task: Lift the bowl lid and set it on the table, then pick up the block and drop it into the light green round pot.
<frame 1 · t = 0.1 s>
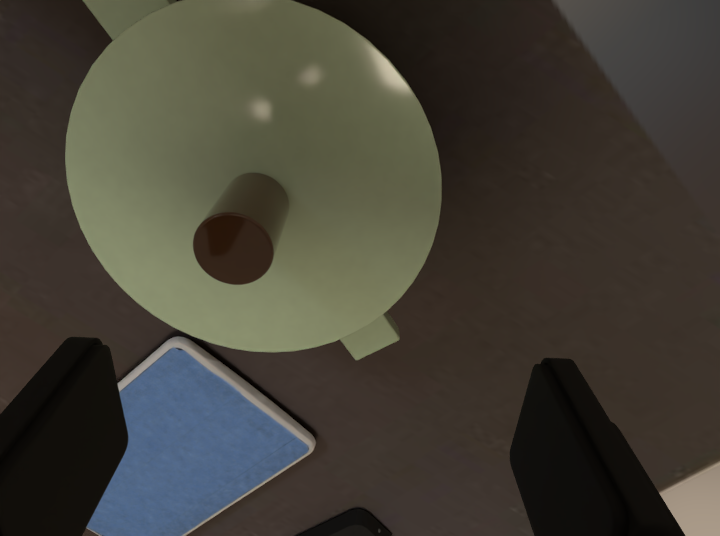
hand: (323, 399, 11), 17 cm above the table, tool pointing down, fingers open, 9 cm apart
light green round pot: (285, 148, 25), on the table
tablet: (164, 451, 36), on the table
bowl lid: (259, 198, 19), point 7 cm above the table, touching light green round pot
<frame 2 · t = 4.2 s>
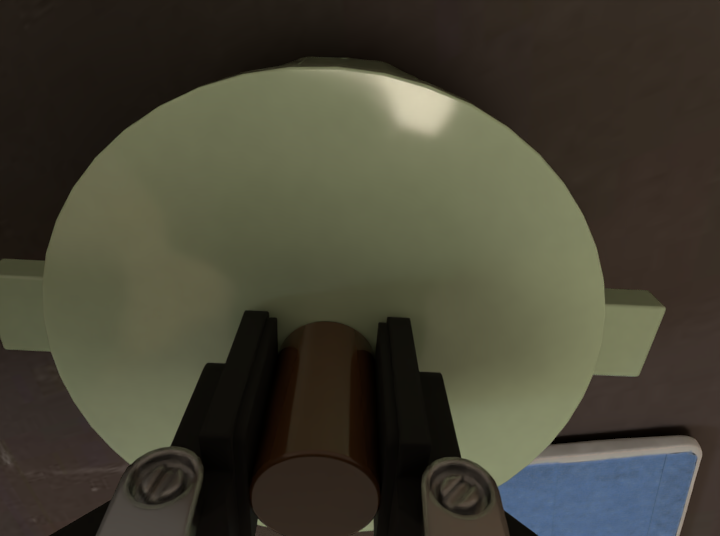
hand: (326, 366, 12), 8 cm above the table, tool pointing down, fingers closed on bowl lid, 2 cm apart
light green round pot: (337, 230, 20), on the table
bowl lid: (328, 345, 13), point 8 cm above the table, touching light green round pot, gripper
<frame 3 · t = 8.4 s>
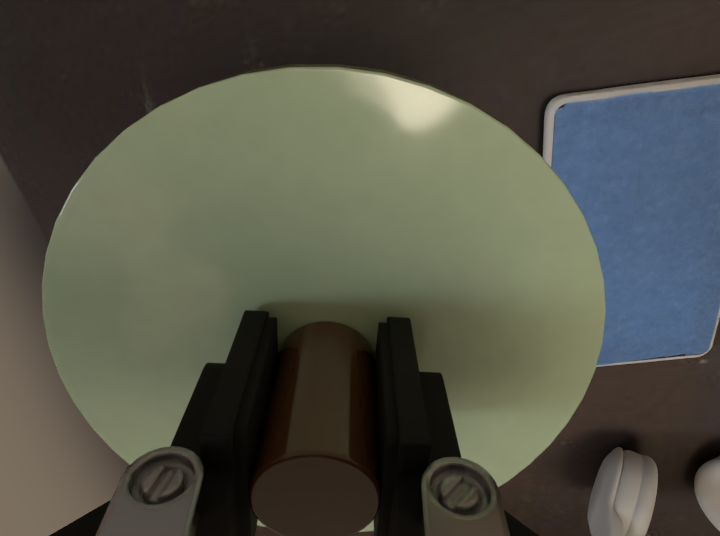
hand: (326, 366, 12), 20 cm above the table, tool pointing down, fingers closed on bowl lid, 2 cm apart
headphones: (660, 459, 42), on the table
tablet: (629, 236, 32), on the table
bowl lid: (328, 345, 13), point 19 cm above the table, touching gripper
when the fingers open (1 cm above the table, at t = 12.4 s): bowl lid stays where it is, point 1 cm above the table.
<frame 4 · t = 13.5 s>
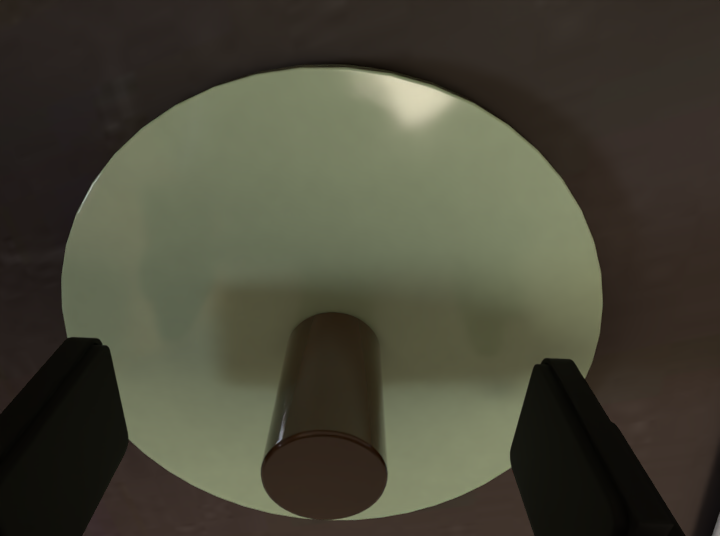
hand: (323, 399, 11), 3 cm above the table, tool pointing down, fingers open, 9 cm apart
bowl lid: (334, 336, 13), point 1 cm above the table
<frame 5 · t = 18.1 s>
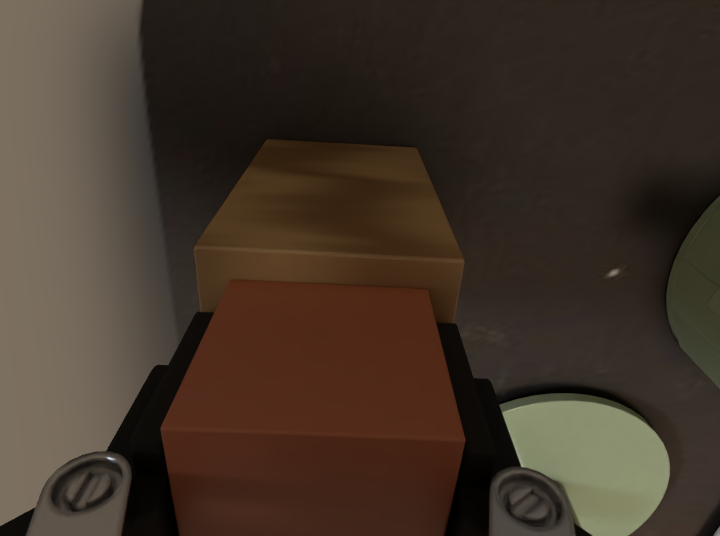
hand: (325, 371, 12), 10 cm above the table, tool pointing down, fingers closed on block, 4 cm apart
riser: (339, 213, 21), on the table
block: (326, 362, 12), point 10 cm above the table, touching gripper, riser
bowl lid: (540, 484, 28), point 1 cm above the table
when the fingers open (6 cm above the table, at t = 25.9 s): block drops 5 cm, resting on light green round pot.
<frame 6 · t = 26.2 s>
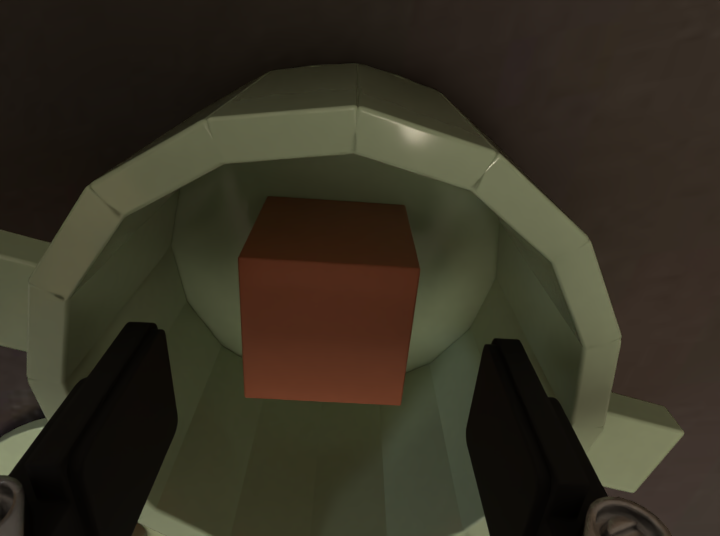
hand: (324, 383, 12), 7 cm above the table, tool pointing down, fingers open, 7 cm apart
block: (333, 261, 17), resting on light green round pot
light green round pot: (337, 255, 18), on the table
bowl lid: (126, 520, 23), point 1 cm above the table
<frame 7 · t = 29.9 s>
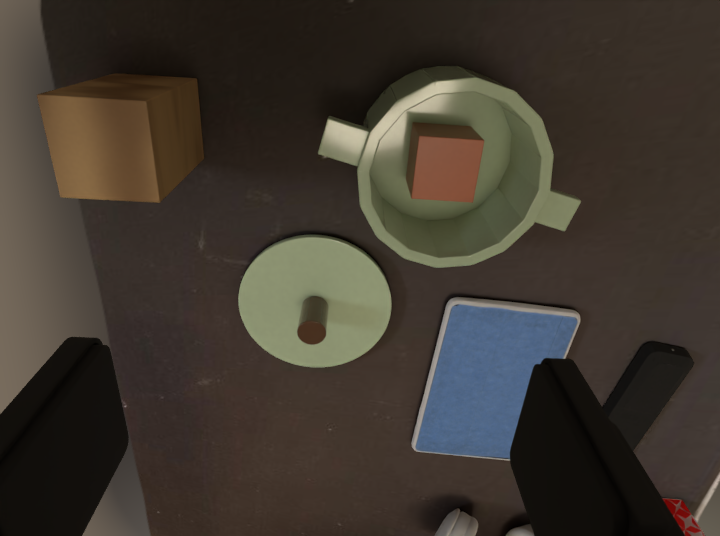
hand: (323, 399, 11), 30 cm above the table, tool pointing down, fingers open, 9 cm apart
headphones: (486, 521, 60), on the table
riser: (161, 117, 38), on the table
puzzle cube: (635, 517, 60), on the table
block: (437, 153, 39), point 1 cm above the table, touching light green round pot
remote control: (629, 400, 51), on the table
light green round pot: (438, 151, 39), on the table
tablet: (486, 380, 50), on the table
bowl lid: (315, 303, 45), point 1 cm above the table
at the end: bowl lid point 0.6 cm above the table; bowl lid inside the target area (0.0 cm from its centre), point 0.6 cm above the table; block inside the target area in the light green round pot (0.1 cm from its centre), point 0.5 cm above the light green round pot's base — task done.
